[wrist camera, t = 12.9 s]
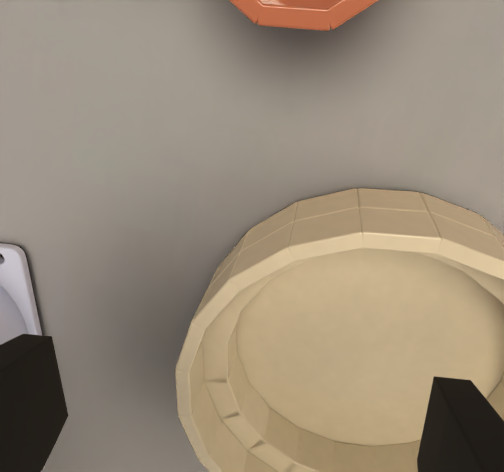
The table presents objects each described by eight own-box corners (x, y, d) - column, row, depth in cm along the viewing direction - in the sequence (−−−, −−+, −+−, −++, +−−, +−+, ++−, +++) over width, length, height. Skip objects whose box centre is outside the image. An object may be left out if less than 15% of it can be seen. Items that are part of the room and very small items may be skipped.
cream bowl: (209, 436, 23) (184, 520, 19) (201, 172, 17) (164, 216, 14) (500, 478, 21) (536, 579, 17) (593, 197, 16) (675, 256, 12)
